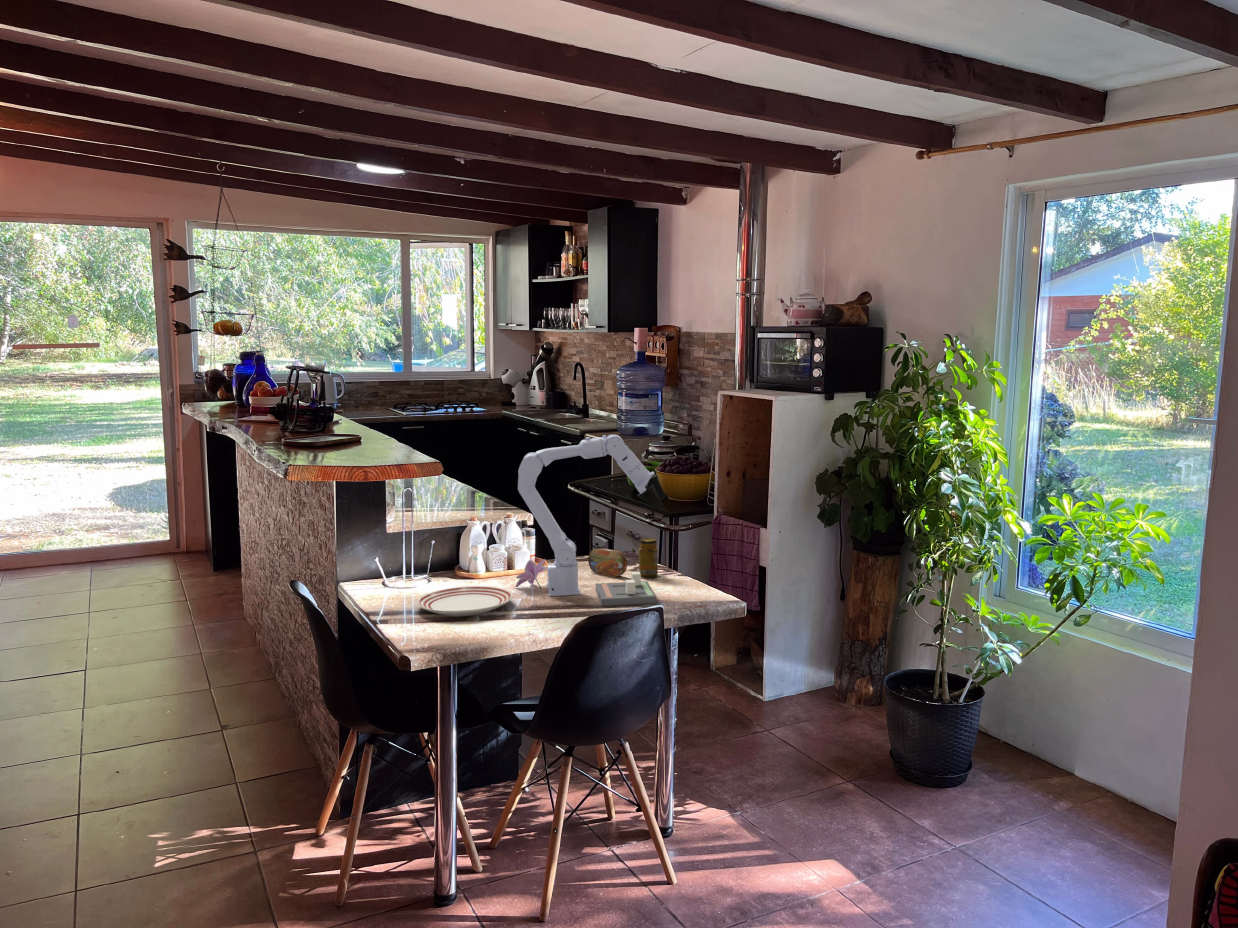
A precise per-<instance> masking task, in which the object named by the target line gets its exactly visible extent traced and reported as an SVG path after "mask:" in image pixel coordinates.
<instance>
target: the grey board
mask: <svg viewBox="0 0 1238 928" xmlns="http://www.w3.org/2000/svg"><path fill="white" fill-rule="evenodd" d="M594 587H595V593H596V595H597V598H598V599H599V603H600V606H601V607H605V606H606V607H608V606H624V605H625V606H626V605H644V604H645V605H646V604H657V595H656V593H655V592H654V590H653V589H652V587H651V585H650V584H649V582H648V581H647V580H644V581H642V580H641V585H638V586H635V594H627V593H626V581H623V582H606V583H605V582H603V583H599V582H598V583H595V586H594Z"/></svg>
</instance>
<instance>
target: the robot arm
mask: <svg viewBox="0 0 1238 928" xmlns="http://www.w3.org/2000/svg"><path fill="white" fill-rule="evenodd" d="M607 455H609V456H611V457H613V459H614V460H615V461H616V464H617V465H618V466H619V468H620V469H621V470H622V472H624V473H625V475H626V476H627V477H628V479H629V480H630V481H631V482H632V484H633V485H634V487H635V488H636V490H637V492H639V493H638V494H637V497H638V498H639V499H640V500H643V501H645V502H647V503H649V504H650V505H651V506H652V507H654V508H655V509H656V510H659V509H660V508H662V507H663V506H664V504H663V502H662V501H663V500H665V499H666V497H667V495H666V493H665V491H664V489H663V487H662V486H661V483H660V479H659V476H658V474H657V473H656V474H655V472H654V471H651V472H650V471H649V470H648V469H647V467H646V466H645V465H644V464H643V463H642V462H641V460H640V458H638V457H637V456H636V455H635V453H634V452H633V451H632V450H631V449H630V448H629V446H628V445H627V444H625V442H624V439H623V438H622V437H621V436H619V435H618V434H609V435H607V436H606V434H605V435H602V436H601V437H600V436H599V437H593V438H591V436H586V437H585V439H582V440H581V441H580V442H579V444H577V445H576V444H575V445H574V444H573V445H567V446H559V447H558V446H557V447H550V448H549V447H547V448H543V449H540V450H537V451H536V452H535V451H534V452H528V453H526V454H525V455H524V456H523V458H522V460H521V463H520V464H519V468H518V471H517V472H518V477H517V478H518V479H517V491H518V493H519V495H520V496H521V497H522V499H523V501H524V503H525V504H526V505H527V507H528V508H529V510H530V512H531V514H532V515H533V518H534V519H535V520H536V521H537V523H538V525H539V526H540V528H541V530H542V531H543V533H544V535H545V537H547V539H548V542H549V544H550V546H551V549H552V550H553V553H554V559H555V560H554V561H553V563H552V564H547V565H546V566H547V569H546V571H547V576H546V577H547V582H546V589H547V592H548V593H547V594H548V597H559V596H561V597H562V596H578V595H581V591H580V587H579V571H578V570H579V567H578V566H579V563H578V560H576V557H577V554H576V553H577V545H576V544H575V542H574V541H573V540H571V539H570V538H568V537H567V535H566V533H565V532H564V531H563V529H561V527H560V526H559V524H558V522H557V521H556V519H555V518H554V516H553V514H552V512H551V511H550V509H549V508H548V506H547V504H546V503H545V501H544V499H543V498H542V497H541V495H540V493H539V491H538V490H537V489H536V482H537V480H538V479H537V478H538V476H539V475H540V474H541V473H542V470H543V467H545V468H546V467H547V466H549V465H550V464H551V463H552V462H553V461H556V460H561V459H568V458H573V457H578V456H580V457H581V458H583V459H585V460H588V459H594V458H601V457H606V456H607Z"/></svg>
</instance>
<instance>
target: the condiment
mask: <svg viewBox="0 0 1238 928" xmlns="http://www.w3.org/2000/svg"><path fill="white" fill-rule="evenodd" d="M658 554H659V551H658V548H657V540H656V539H655V538H652V537H651V538H647V537H646V538H641V539H640V540H639V548H638V572H640V574H641V579H644V580H649V581H654V580H659V579H662V578H667V577H668V576H667V575H663V574H659V573H658V572H659V571H658V570H659V569H658V568H659V566H658V564H659V562H658V559H659V558H658Z"/></svg>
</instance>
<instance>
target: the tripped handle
mask: <svg viewBox="0 0 1238 928" xmlns="http://www.w3.org/2000/svg"><path fill="white" fill-rule="evenodd" d="M625 582H626V593H627V594H635V581H634V580H631V579H626V580H625Z"/></svg>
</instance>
